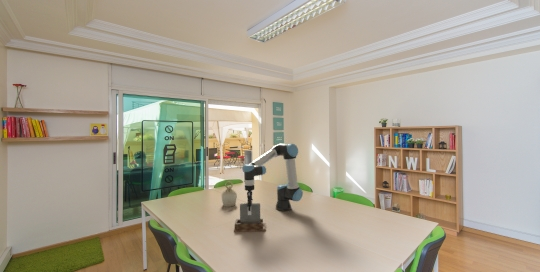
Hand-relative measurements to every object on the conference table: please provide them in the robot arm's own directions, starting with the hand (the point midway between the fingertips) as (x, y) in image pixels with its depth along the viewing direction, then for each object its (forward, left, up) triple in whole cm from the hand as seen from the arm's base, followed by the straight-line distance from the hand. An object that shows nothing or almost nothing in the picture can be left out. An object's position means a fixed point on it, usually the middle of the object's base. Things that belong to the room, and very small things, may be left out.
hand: (250, 211), depth 182 cm
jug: (+25, -60, -13) cm, 66 cm away
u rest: (0, 0, -13) cm, 13 cm away
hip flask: (0, 0, -12) cm, 12 cm away
